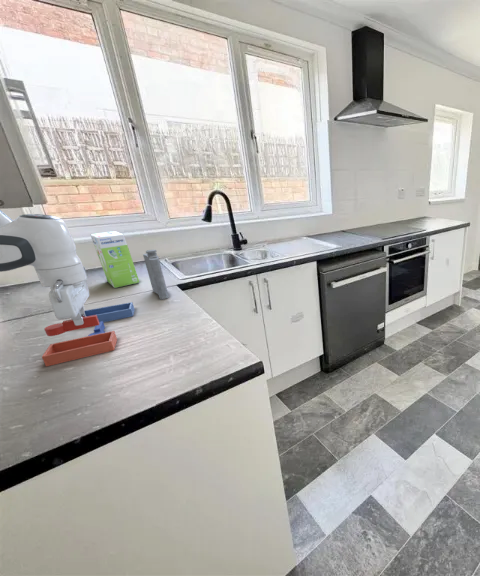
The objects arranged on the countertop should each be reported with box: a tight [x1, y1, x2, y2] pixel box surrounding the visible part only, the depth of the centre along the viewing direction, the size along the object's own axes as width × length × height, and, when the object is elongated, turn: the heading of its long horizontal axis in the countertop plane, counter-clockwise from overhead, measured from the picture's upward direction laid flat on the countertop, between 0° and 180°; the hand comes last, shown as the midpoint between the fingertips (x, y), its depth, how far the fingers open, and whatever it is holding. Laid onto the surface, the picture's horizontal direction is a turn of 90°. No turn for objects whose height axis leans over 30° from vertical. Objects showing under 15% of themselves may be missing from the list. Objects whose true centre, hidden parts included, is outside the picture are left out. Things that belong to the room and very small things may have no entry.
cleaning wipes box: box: [90, 230, 140, 289], centre depth 148 cm, size 18×10×24 cm, turn 49°
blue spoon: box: [87, 321, 106, 336], centre depth 99 cm, size 11×4×3 cm, turn 35°
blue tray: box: [84, 301, 135, 323], centre depth 111 cm, size 14×8×4 cm, turn 125°
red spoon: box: [44, 315, 99, 337], centre depth 86 cm, size 11×4×3 cm, turn 124°
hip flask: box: [142, 249, 170, 300], centre depth 131 cm, size 16×4×20 cm, turn 45°
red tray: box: [41, 330, 118, 367], centre depth 89 cm, size 14×8×4 cm, turn 125°
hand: (81, 322), depth 87 cm, fingers closed on red spoon
